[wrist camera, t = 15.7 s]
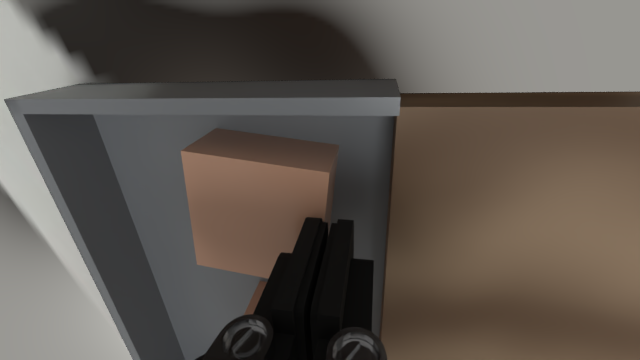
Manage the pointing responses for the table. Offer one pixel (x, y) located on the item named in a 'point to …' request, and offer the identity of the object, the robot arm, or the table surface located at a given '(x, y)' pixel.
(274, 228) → the tile
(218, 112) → the tray
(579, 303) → the board
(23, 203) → the table surface
